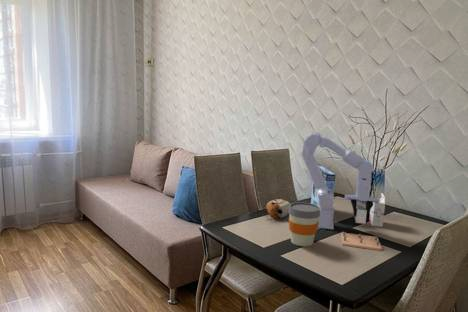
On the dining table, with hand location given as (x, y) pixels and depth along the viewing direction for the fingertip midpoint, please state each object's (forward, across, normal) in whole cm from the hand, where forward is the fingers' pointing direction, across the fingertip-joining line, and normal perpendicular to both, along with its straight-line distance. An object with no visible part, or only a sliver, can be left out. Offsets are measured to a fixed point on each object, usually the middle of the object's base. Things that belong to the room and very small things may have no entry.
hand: (360, 216), depth 154 cm
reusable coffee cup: (+7, -24, -20) cm, 32 cm away
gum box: (+7, -17, +20) cm, 28 cm away
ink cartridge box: (+7, +9, +14) cm, 18 cm away
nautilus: (+7, -39, +6) cm, 40 cm away
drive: (+2, 0, 0) cm, 2 cm away
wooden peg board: (+7, 0, -12) cm, 14 cm away
